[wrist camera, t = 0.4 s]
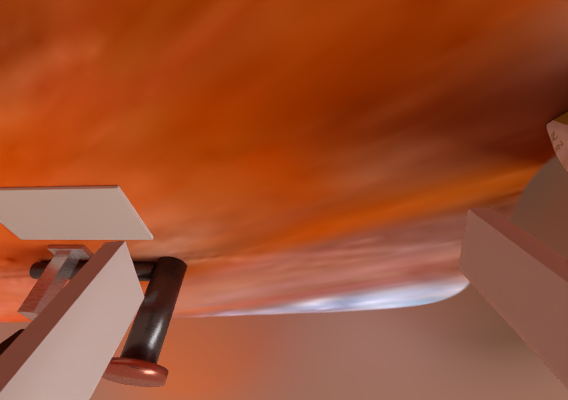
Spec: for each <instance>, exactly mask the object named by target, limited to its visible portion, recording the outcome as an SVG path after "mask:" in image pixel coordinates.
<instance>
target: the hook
mask: <svg viewBox="0 0 568 400" xmlns="http://www.w3.org/2000/svg"><path fill="white" fill-rule="evenodd" d="M49 263H50V262H36V263H34V264H33V265H32V266H31V268H30V276H31V277H32V278H33V279H39V278H40V276H41V275H42V273H43V272H44V270H45V269H46V267H47V266H48V264H49ZM86 263H87V262H78V263H77V265H76V267H75V268H74V270H73V272H72V273H71V275H70V277H69V279H70V280H71V279H72V278H73V277H74V276H75V275H76V274H77V273H78V272H79V270H80V269H81V268H82V267H83V266H84V265H85V264H86ZM133 265H134V268H135V271H136V274H137V277H138V280H139V281H150V282H149V284H148V287H147V289H146V292H145V295H144V299H143V301H142V303H141V305H140V307H139V310H138V312H137V315H136V318H135V320H134V323H133V325H132V328H131V330H130V333H129V335H128V338H127V341H126V343H125V346H124V348H123V351H122V354H121V356H120V357H116V358H111V360H110V362H109V364H108V366H107V368H106V370H105V371H104V373H103V375H102V378H104V379H107V380H110V381H113V382H117V383H121V384H126V385H134V386H142V387H160V386H163V385H165V381H166V378H167V375H168V370H167V369H166V368H165V367H162V366H160V365H157V361H158V358H159V355H160V352H161V348H162V345H163V342H164V339H165V336H166V333H167V329H168V326H169V323H170V320H171V317H172V313H173V310H174V307H175V304H176V301H177V297H178V294H179V291H180V288H181V285H182V281H183V278H184V275H185V272H186V269H187V265H186V264H185V263H184V262H183V261H182V260H180V259H177V258H174V257H161V258H159V259H158V261H157V263H133Z"/></svg>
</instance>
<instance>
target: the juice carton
mask: <svg viewBox="0 0 568 400" xmlns="http://www.w3.org/2000/svg"><path fill="white" fill-rule="evenodd" d="M546 126H547V131H548V134H549V137H550V140H551V143H552V145H553V148H554V151H555V153H556V155H557V157H558V159H559V161H560V163H561V164H562V166H563V167H564V168H565V169H566V170H567V172H568V112H566V113H564V114H562V115H561V116H559V117H557V118H556V119H554V120H552V121H551V122H549V123H548V124H547V125H546Z"/></svg>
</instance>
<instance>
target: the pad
mask: <svg viewBox="0 0 568 400" xmlns="http://www.w3.org/2000/svg"><path fill="white" fill-rule="evenodd" d="M0 223H2V224H3V225H4V226H5V227H6V228H8V229H9V230H10V231H11V232H13V233H14V234H15V235H16V236H17V237H19V238H20V239H21V240H153V238H154V237H153V235H152V234H151V232H150V231H149V229H148V228H147V226H146V225H145V223H144V222H143V220H142V219H141V218H140V216H139V215H138V213H137V212H136V210H135V209H134V207H133V206H132V204H131V203H130V201H129V200H128V198H127V197H126V195H125V194H124V193H123V191H122V190H121V188H120V187H119V186H69V187H19V188H0Z"/></svg>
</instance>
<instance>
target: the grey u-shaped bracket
mask: <svg viewBox="0 0 568 400" xmlns="http://www.w3.org/2000/svg"><path fill="white" fill-rule="evenodd" d="M47 249H48V250H49V251H50V252H51V253H52V254H54V257H53V258H52V260H51V261H50V263H49V264H48V266H47V267H46V269H45V270H44V272H43V273H42V275H41V276H40V278H39V279H38V281H37V282H36V284H35V286H34V287H33V289H32V290H31V292H30V293H29V295H28V296H27V298H26V299H25V301H24V302H23V304H22V305H21V307H20V308H19V310H18V311H17V312H18V313H20V314H22V315H24V316H25V317H27V318H29V319H31V320H34V319H35V318H36V317H37V316H38V315H39V314H40V312H41V311H42V310H43V309H44V308H45V307H46V306H47V305H48V304H49V303H50V302H51V301H52V300H53V298H54V297H55V296H56V295H57V294H58V293H59V292H60V291H61V290H62V289H63V287H64V285H65V284H66V282H67V280H68V279H69V277H70V275H71V273H72V272H73V270H74V268H75V267H76V265H77V263H78V262H79V260H80V259H91V258H92V256H93V254H92V253H91V252H90V251H89V250H88V249H87V248H86V247H85V246H84V245H49V246H48V248H47Z"/></svg>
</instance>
